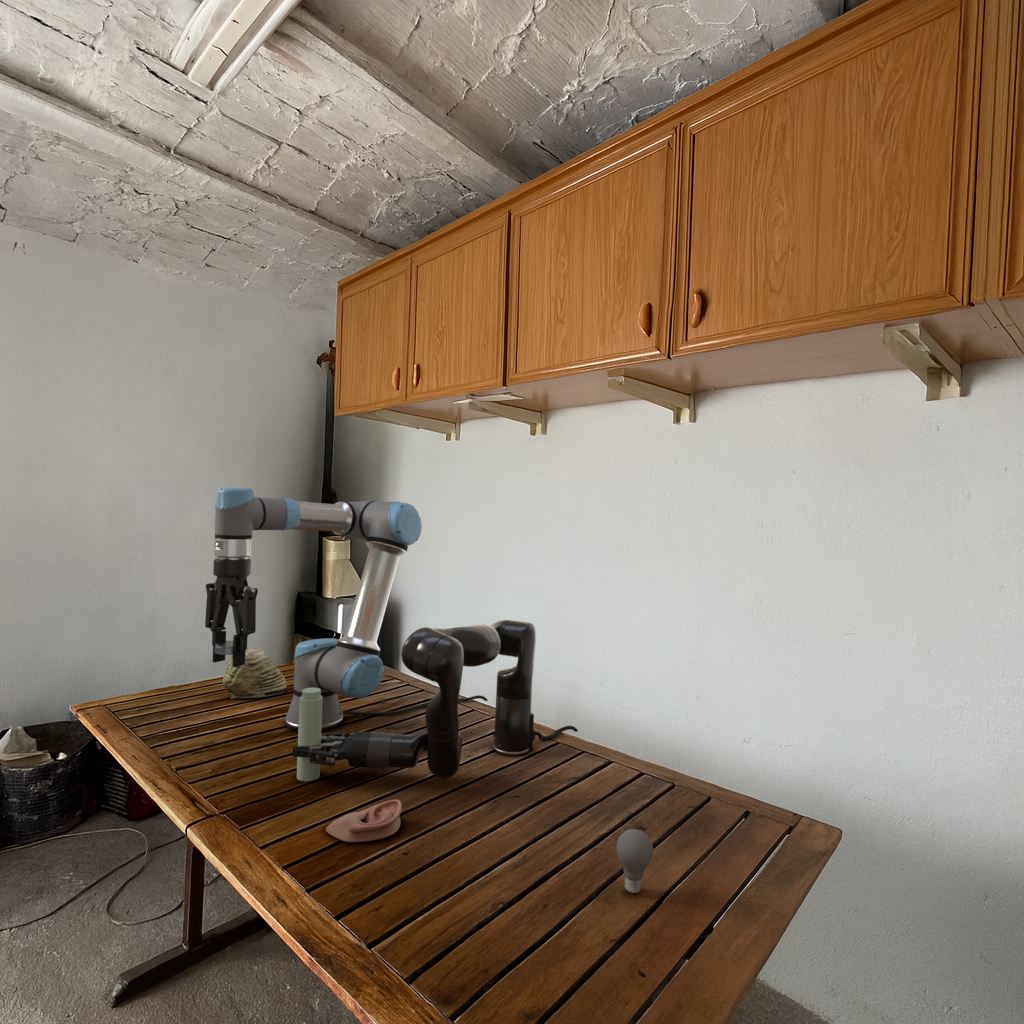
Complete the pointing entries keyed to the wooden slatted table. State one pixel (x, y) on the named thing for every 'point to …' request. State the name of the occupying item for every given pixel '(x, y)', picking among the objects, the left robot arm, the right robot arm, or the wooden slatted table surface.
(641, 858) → the light bulb
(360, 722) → the wooden slatted table surface
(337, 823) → the anatomical model
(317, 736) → the pale green cylinder
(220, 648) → the lid
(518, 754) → the right robot arm
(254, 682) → the fossil
